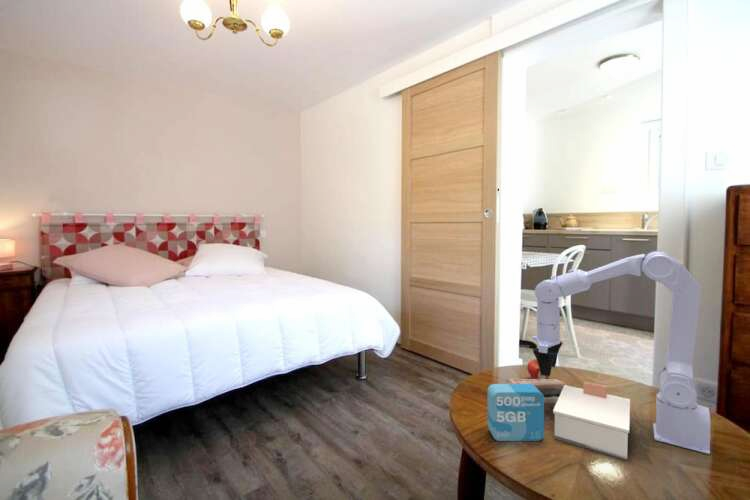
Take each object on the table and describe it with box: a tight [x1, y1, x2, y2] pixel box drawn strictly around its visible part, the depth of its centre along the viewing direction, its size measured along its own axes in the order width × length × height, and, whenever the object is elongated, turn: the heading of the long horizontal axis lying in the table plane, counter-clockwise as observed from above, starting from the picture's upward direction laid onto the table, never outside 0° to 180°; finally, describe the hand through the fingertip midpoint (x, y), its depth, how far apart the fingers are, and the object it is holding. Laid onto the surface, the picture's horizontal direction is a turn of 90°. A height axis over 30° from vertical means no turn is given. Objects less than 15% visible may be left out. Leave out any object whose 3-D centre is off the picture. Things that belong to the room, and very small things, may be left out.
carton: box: [554, 413, 629, 461], centre depth 85 cm, size 14×16×6 cm
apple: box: [526, 358, 549, 379], centre depth 114 cm, size 8×7×10 cm
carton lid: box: [552, 381, 631, 434], centre depth 85 cm, size 15×17×3 cm
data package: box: [486, 383, 545, 442], centre depth 84 cm, size 12×4×12 cm, turn 88°
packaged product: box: [505, 378, 567, 404], centre depth 104 cm, size 18×5×10 cm
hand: (548, 370), depth 98 cm, fingers open, 7 cm apart
